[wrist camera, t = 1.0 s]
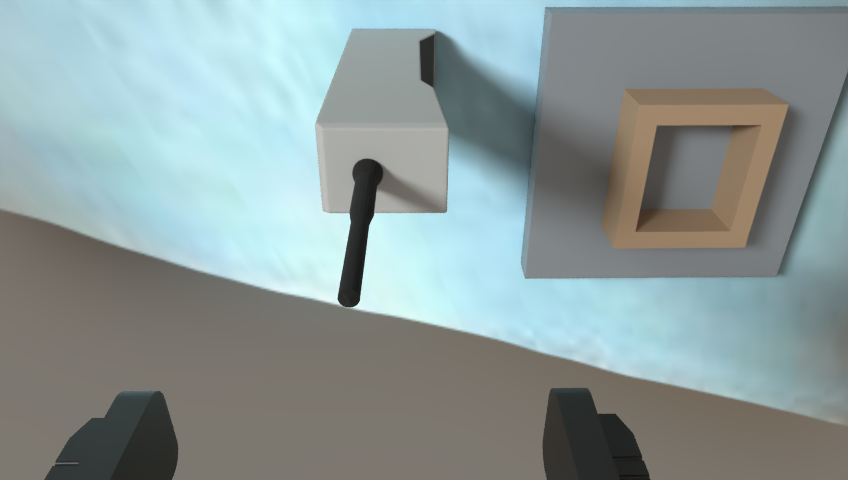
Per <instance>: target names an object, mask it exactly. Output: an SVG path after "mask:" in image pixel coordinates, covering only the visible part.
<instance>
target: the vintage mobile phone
mask: <svg viewBox="0 0 848 480" xmlns="http://www.w3.org/2000/svg"><path fill="white" fill-rule="evenodd" d="M435 38H436V33H435V29H352V30H351V33H350V36H349V38H348V41H347V43H346V46H345V48H344V51H343V54H342V56H341V59H340V61H339V64H338V66H337V69H336V72H335V74H334V77H333V79H332V82H331V84H330V87H329V90H328V92H327V95H326V97H325V100H324V102H323V105H322V108H321V110H320V113H319V115H318V118H317V120H316V123H315V129H316V140H317V151H318V163H319V174H320V186H321V197H322V208H323V211H325V212H328V213H350V219H351V225H350V231H349V237H348V242H347V248H346V253H345V259H344V265H343V270H342V276H341V282H340V287H339V293H338V301H339V303H340V304H341V305H343V306H345V307H354V306H356V305H357V304H358V303H359V301H360V294H361V286H362V278H363V270H364V262H365V254H366V246H367V238H368V230H369V224H370V222H371V220H372V218H373V216H374V213H445V212H447V188H448V152H449V127H448V124H447V121H446V118H445V116H444V113H443V111H442V108H441V106H440V103H439V101H438V98H437V96H436V93H435Z"/></svg>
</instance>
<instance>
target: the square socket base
mask: <svg viewBox="0 0 848 480" xmlns="http://www.w3.org/2000/svg"><path fill="white" fill-rule="evenodd" d="M847 73H848V7H545V17H544V28H543V38H542V49H541V59H540V70H539V80H538V90H537V101H536V111H535V122H534V132H533V143H532V153H531V164H530V174H529V185H528V195H527V206H526V216H525V227H524V237H523V247H522V258H521V265H522V269H523V272H524V276H525V279H529V278H655V277H776V276H777V273H778V270H779V267H780V264H781V261H782V258H783V256H784V253H785V250H786V247H787V244H788V241H789V238H790V236H791V233H792V230H793V227H794V224H795V221H796V218H797V216H798V213H799V210H800V207H801V204H802V201H803V198H804V196H805V193H806V190H807V187H808V184H809V181H810V178H811V176H812V173H813V170H814V167H815V164H816V161H817V158H818V156H819V153H820V150H821V147H822V144H823V141H824V138H825V136H826V133H827V130H828V127H829V124H830V121H831V118H832V116H833V113H834V110H835V107H836V104H837V101H838V98H839V96H840V93H841V90H842V87H843V84H844V81H845V78H846V76H847Z"/></svg>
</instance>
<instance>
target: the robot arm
mask: <svg viewBox="0 0 848 480" xmlns="http://www.w3.org/2000/svg"><path fill="white" fill-rule="evenodd" d="M177 460H178V443H177V439H176V436H175V432H174V429H173V425H172V422H171V419H170V415H169V411H168V408H167V405H166V401H165V399H164V395H163V394H162V393H161V392H160V391H129V392H128V391H127V392H121V393H119V394H118V395H117V397H116V398H115V400H114V401H113V403H112V405H111V407H110V409H109V410H108V412H107V414H106V416H105V418H92V419H91V420H90V421H88V422H87V423H86V424H85V425H84V426H83V427H82V428H81V429H79V430H78V431H77V432H76V433H75V434H74V435H73V436H72V437H70V438H69V440H68V442H67V443H66V445H65V447H64V448H63V450H62V452H61V453H60V455H59V456H58V458H57V460H56V464H55V466H52V468H51V470H50V471H49V473H48V475H47V476H46V478H45V480H172V478H173V476H174V473H175V470H176V465H177ZM543 461H544V468H545V473H546V477H547V480H650V478H649V473H648V470H647V468H646V465H645V463H644V461H642V455H641V452H640V450H639V447H638V445H637V442H636V439H635V437H634V435H633V433H632V432H631V431H630V430H629V428H628V427H627V426H626V425H625V424H624V423H623V422H622V421H621V420H620V418H619V417H618V416H617V415H616V414H598V413H597V411H596V408H595V405H594V402H593V399H592V396H591V393H590V391H589V390H588V389H587V388H552V389H551V390H550V393H549V399H548V406H547V414H546V421H545V428H544V435H543Z"/></svg>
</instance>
